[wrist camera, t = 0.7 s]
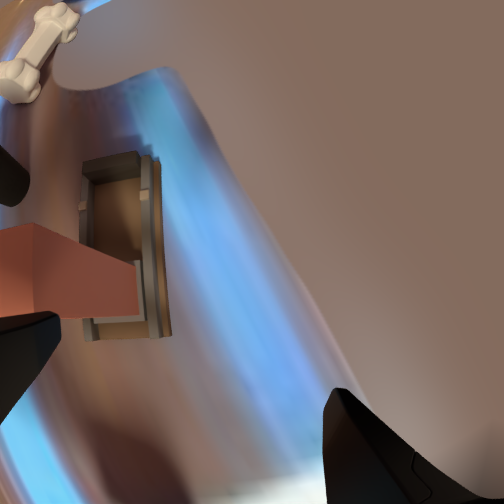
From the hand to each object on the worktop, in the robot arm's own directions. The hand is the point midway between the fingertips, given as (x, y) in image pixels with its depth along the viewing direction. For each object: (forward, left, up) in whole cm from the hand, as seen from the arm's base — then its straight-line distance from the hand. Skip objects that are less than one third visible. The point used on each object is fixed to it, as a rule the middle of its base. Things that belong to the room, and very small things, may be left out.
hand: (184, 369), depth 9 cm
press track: (-5, +10, -18) cm, 21 cm away
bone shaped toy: (-9, +43, -18) cm, 48 cm away
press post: (-7, +6, -17) cm, 19 cm away
